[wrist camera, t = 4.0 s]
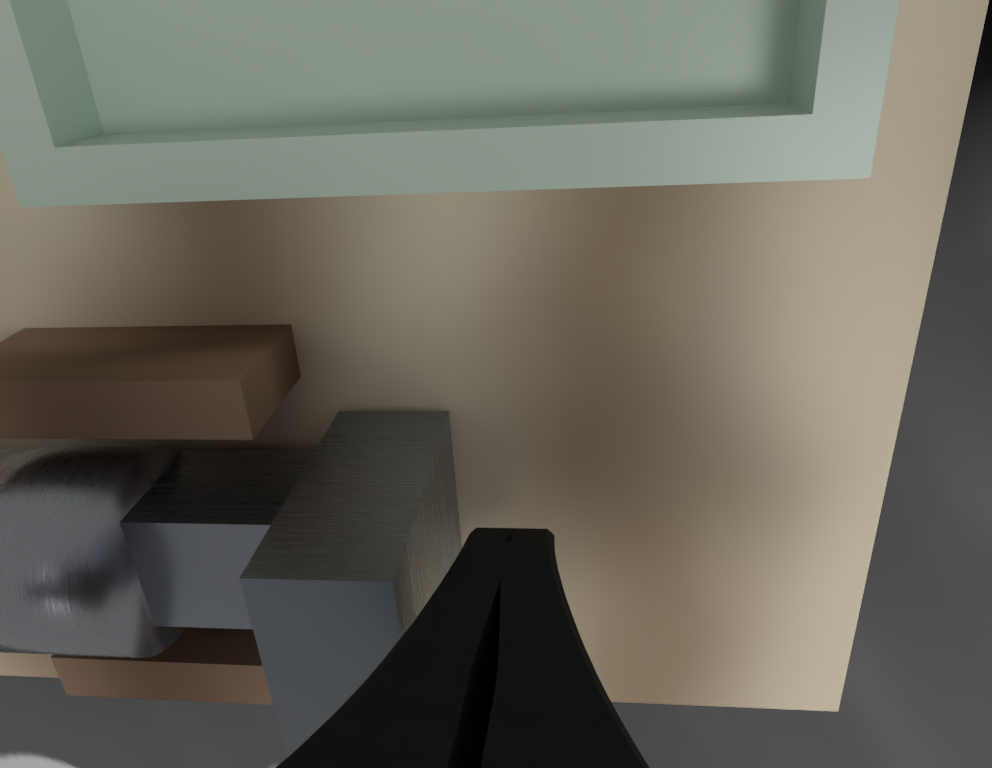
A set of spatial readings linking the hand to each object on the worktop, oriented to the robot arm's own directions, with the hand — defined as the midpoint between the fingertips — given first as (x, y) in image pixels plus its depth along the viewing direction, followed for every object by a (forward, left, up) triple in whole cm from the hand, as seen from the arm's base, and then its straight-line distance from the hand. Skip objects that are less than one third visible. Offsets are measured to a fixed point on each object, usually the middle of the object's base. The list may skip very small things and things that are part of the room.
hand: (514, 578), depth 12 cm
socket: (+6, 0, -3) cm, 7 cm away
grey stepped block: (+4, 0, -2) cm, 4 cm away
